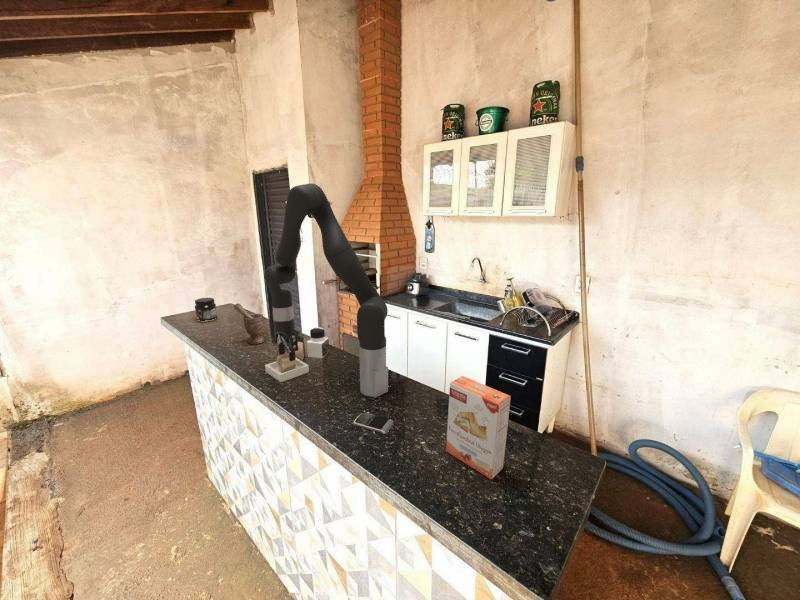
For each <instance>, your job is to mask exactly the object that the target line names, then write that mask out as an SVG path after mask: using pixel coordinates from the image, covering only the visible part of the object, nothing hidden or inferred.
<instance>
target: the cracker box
mask: <svg viewBox="0 0 800 600" xmlns="http://www.w3.org/2000/svg"><path fill="white" fill-rule="evenodd" d="M510 405H511V395H509V394H507V393H504V392H502V391H499V390H497V389H495V388H492V387H490V386H488V385H487V384H486V385H485V384H483V383H480V382H478V381H476V380H473V379H472V378H469V377H466V376H464V375H461V376H460V377H458V378H456V379H455V380H453V381H451V382H450V383H449V394H448V411H447V429H446V430H447V431H446V447H445V452H446V453H448V454H450V455H452V456H453V457H454V458H456V459H458V460H459V461H461V462H462V463H464V464H465V465H467V466H469V467H470V468H471V469H474V470H475V471H477V472H478V473H480V474H481V475H483V476H484V477H486V478H487V479H489V480H490V481H492V480H493V479H494V478H495V477H496V476H497V475H498V474H499V473H500V472H501V471H502V470H503V468H504V464H505V463H504V462H505V454H506V447H507V445H506V443H507V435H508V427H509V417H510V416H509V415H510V409H511V408H510Z"/></svg>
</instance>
